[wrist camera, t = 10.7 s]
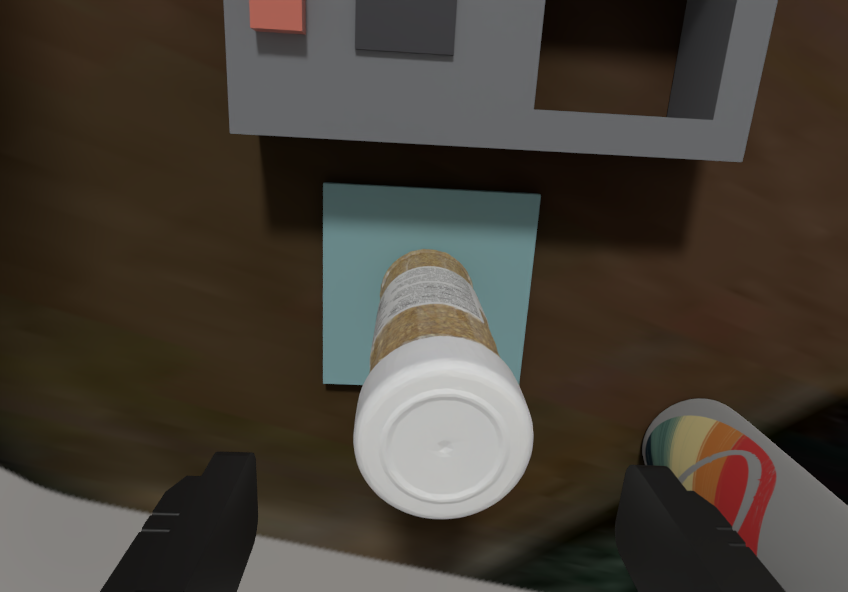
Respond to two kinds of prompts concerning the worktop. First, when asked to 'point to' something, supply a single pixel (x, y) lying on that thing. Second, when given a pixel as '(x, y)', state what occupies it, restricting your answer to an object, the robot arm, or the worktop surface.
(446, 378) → the sprinkles bottle
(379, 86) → the power strip
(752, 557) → the robot arm
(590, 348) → the worktop surface
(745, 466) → the lotion bottle
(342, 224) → the mat
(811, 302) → the worktop surface
